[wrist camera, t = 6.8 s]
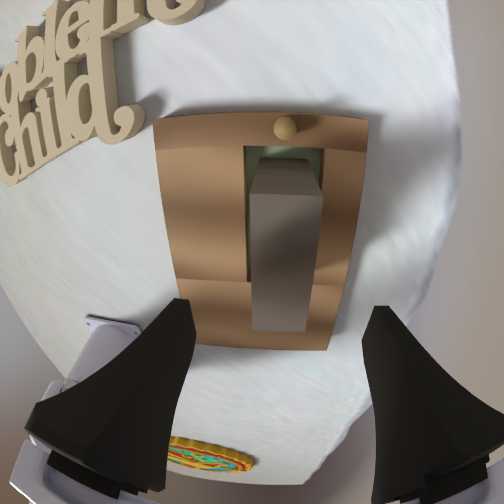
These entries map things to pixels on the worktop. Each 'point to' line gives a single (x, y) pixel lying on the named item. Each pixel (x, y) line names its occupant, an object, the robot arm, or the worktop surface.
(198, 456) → the decorative plaque
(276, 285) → the metal block
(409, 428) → the robot arm
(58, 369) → the worktop surface
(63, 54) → the decorative sign
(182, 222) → the board
